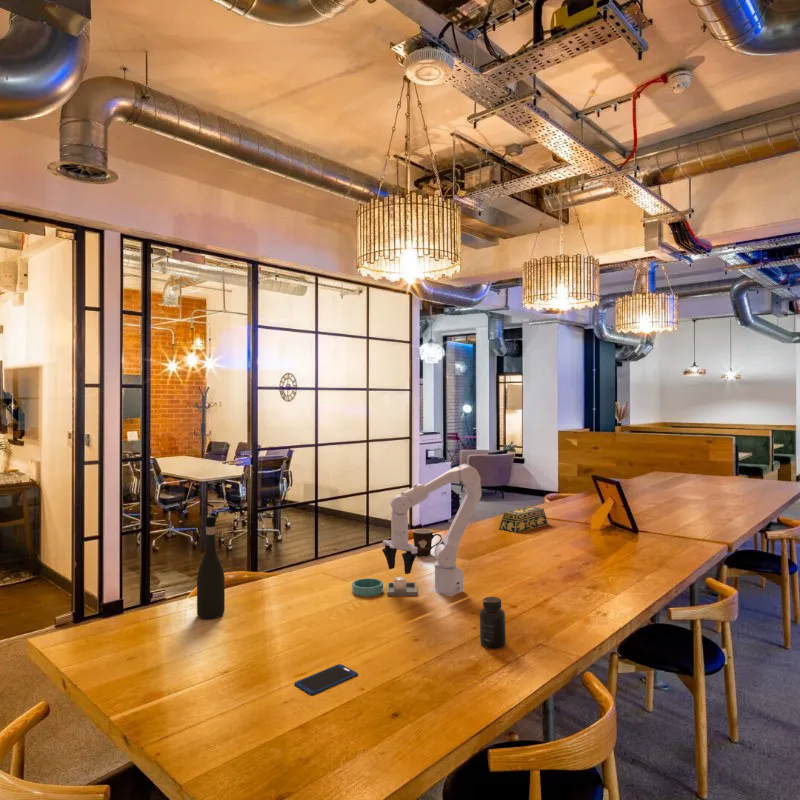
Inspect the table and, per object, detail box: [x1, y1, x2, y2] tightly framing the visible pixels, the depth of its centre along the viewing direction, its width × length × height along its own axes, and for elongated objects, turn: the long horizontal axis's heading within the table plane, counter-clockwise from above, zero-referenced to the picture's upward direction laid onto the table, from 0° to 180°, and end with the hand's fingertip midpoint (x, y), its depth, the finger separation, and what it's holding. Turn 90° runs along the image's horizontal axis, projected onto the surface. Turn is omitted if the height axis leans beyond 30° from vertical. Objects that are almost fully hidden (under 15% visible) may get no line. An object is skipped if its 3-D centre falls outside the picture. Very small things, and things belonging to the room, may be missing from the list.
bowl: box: [351, 577, 384, 598], centre depth 194 cm, size 10×10×3 cm
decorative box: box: [498, 505, 549, 534], centre depth 295 cm, size 11×30×9 cm, turn 133°
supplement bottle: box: [479, 596, 507, 650], centre depth 153 cm, size 7×7×12 cm
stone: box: [392, 576, 407, 592], centre depth 195 cm, size 4×4×4 cm
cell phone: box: [293, 663, 359, 696], centre depth 134 cm, size 7×14×1 cm, turn 135°
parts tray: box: [386, 581, 418, 597], centre depth 195 cm, size 10×10×2 cm
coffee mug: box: [412, 528, 443, 557], centre depth 241 cm, size 12×9×10 cm
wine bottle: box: [196, 515, 226, 620], centre depth 174 cm, size 8×8×30 cm
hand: (399, 571), depth 195 cm, fingers open, 7 cm apart
